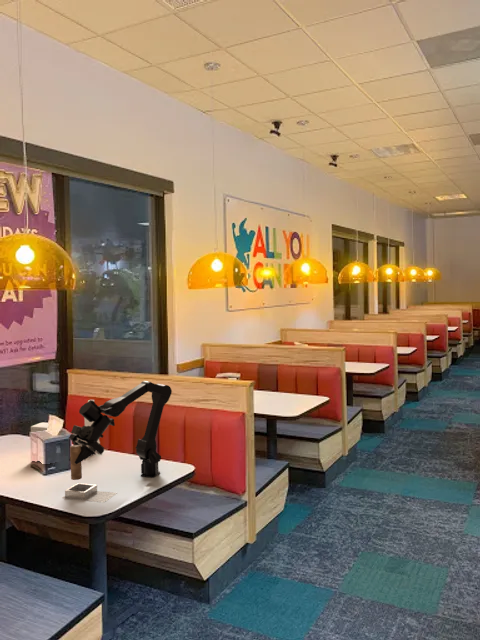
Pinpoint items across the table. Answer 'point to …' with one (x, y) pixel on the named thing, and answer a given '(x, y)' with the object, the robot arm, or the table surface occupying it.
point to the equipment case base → (96, 496)
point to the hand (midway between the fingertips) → (72, 462)
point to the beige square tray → (87, 489)
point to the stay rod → (75, 468)
